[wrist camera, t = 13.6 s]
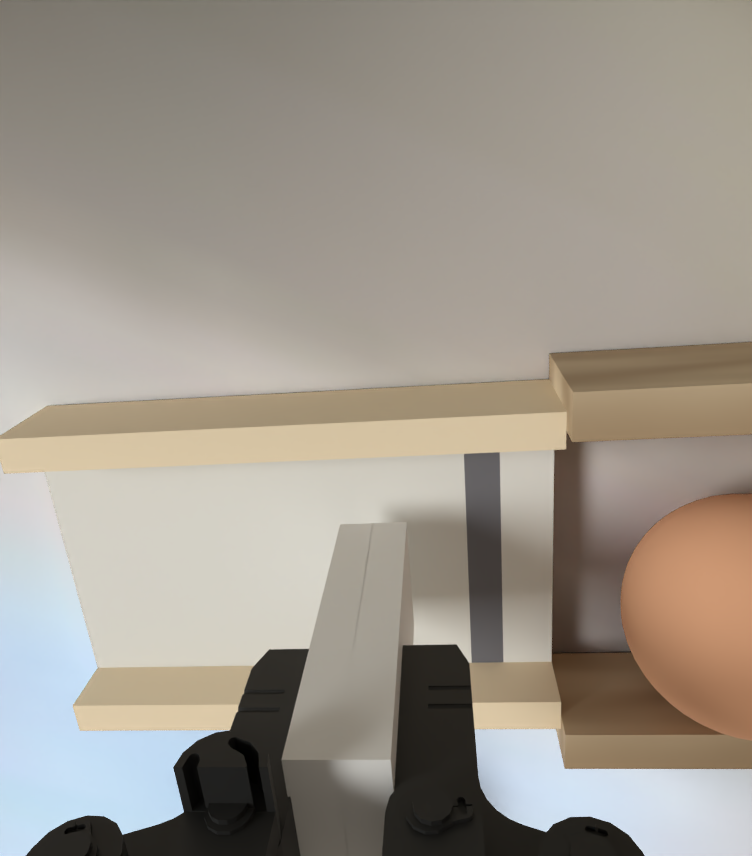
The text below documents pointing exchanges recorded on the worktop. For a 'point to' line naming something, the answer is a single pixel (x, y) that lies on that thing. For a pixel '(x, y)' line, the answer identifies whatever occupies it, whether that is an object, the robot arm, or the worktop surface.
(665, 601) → the ball
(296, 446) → the runway
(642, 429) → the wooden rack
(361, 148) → the worktop surface
